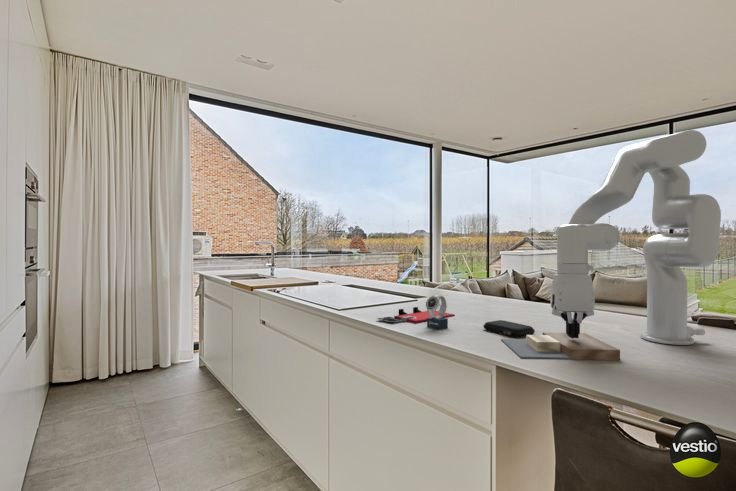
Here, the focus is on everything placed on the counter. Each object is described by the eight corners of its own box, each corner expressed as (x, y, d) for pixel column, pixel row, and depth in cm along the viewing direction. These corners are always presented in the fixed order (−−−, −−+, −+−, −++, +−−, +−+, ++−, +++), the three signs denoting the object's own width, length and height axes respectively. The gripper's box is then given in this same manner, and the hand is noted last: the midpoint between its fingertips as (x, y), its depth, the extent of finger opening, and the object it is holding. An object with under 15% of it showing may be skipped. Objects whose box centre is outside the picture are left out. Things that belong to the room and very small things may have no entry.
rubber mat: (542, 340, 115) (542, 339, 115) (570, 359, 97) (570, 357, 97) (501, 340, 116) (501, 339, 116) (520, 358, 98) (520, 356, 98)
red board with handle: (372, 320, 147) (401, 327, 136) (373, 312, 147) (401, 319, 136) (425, 312, 166) (454, 318, 155) (426, 305, 166) (454, 311, 155)
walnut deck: (584, 341, 115) (584, 333, 115) (620, 359, 97) (620, 349, 97) (542, 340, 115) (542, 332, 115) (570, 359, 97) (570, 349, 97)
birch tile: (547, 343, 110) (547, 335, 110) (560, 351, 102) (560, 342, 102) (526, 343, 111) (526, 334, 111) (537, 351, 103) (537, 342, 103)
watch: (423, 327, 134) (423, 295, 134) (438, 324, 139) (438, 293, 139) (436, 330, 129) (436, 297, 129) (451, 326, 135) (451, 295, 135)
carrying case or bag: (478, 331, 130) (515, 340, 118) (478, 321, 130) (515, 330, 118) (499, 327, 136) (537, 336, 123) (499, 318, 136) (537, 326, 123)
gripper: (594, 268, 109) (594, 334, 109) (539, 268, 110) (539, 333, 110) (608, 270, 102) (609, 340, 102) (549, 271, 103) (550, 340, 103)
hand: (572, 336), depth 106 cm, fingers closed
